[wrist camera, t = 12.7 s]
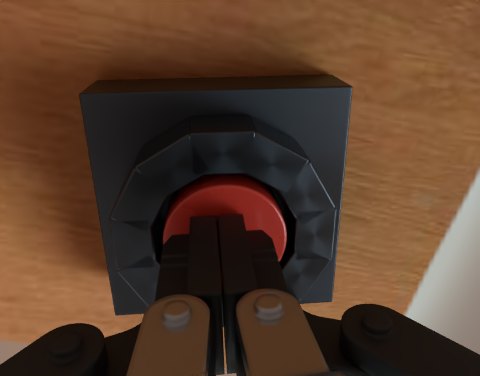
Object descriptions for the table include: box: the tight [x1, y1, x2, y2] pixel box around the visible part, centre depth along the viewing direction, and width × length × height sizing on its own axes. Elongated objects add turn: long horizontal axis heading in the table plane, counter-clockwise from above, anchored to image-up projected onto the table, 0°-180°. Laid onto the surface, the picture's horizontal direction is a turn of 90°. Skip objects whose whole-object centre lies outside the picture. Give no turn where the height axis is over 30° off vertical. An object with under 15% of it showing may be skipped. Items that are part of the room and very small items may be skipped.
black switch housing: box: [79, 75, 352, 327], centre depth 14 cm, size 8×8×4 cm
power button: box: [163, 173, 287, 269], centre depth 13 cm, size 4×4×2 cm
